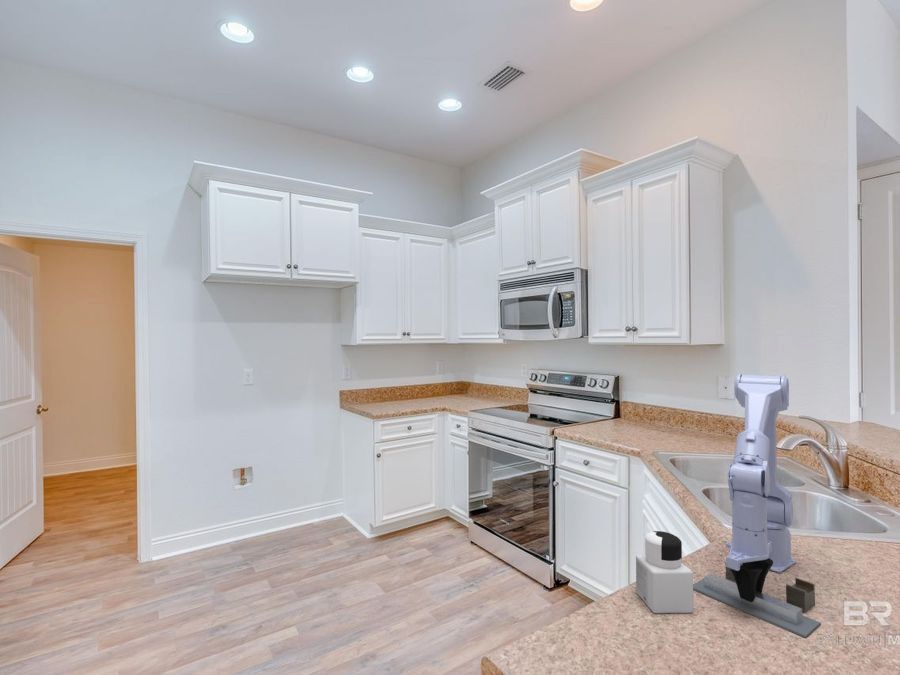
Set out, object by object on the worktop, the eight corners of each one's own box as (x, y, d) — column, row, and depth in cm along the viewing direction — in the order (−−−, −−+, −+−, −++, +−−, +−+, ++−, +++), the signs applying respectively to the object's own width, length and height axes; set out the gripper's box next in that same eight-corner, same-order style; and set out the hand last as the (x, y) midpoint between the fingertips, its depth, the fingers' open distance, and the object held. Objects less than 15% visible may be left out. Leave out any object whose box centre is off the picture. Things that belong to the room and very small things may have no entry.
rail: (710, 583, 96) (710, 573, 96) (802, 621, 83) (801, 608, 83) (704, 587, 95) (704, 576, 95) (796, 625, 82) (796, 613, 82)
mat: (706, 578, 99) (706, 576, 99) (820, 624, 83) (820, 622, 83) (689, 588, 95) (689, 586, 95) (805, 638, 79) (805, 636, 79)
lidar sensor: (672, 591, 94) (672, 527, 94) (694, 613, 86) (693, 543, 86) (635, 592, 93) (634, 527, 94) (653, 614, 86) (652, 543, 86)
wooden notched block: (736, 575, 100) (736, 557, 101) (752, 581, 98) (751, 562, 98) (725, 581, 98) (725, 562, 98) (741, 588, 95) (740, 568, 95)
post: (796, 598, 91) (796, 577, 92) (814, 604, 89) (814, 584, 89) (786, 605, 89) (786, 584, 89) (805, 613, 86) (804, 591, 86)
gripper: (744, 512, 97) (744, 578, 96) (709, 527, 88) (710, 599, 88) (783, 523, 91) (784, 592, 90) (749, 540, 83) (750, 616, 82)
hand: (750, 597), depth 89 cm, fingers closed on rail, 2 cm apart
